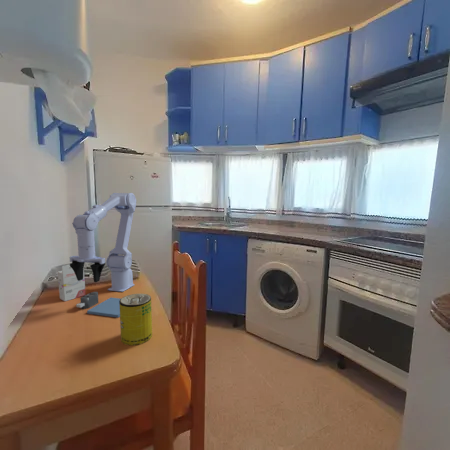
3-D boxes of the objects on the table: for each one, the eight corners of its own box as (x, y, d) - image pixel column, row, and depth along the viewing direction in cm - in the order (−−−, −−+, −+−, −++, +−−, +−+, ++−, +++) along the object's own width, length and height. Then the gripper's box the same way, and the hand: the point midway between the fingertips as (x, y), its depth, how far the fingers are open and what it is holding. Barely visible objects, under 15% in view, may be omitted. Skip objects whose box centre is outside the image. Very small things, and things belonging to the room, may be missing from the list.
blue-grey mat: (110, 299, 109) (110, 297, 109) (139, 303, 105) (138, 300, 105) (87, 313, 96) (87, 310, 96) (118, 317, 93) (118, 315, 93)
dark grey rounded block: (93, 300, 108) (93, 291, 107) (100, 301, 107) (99, 292, 106) (75, 310, 99) (74, 300, 98) (82, 311, 98) (81, 301, 97)
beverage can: (151, 327, 86) (149, 292, 85) (153, 342, 78) (152, 302, 76) (121, 332, 83) (119, 295, 82) (120, 347, 75) (118, 307, 73)
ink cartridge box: (80, 292, 116) (78, 260, 115) (85, 295, 113) (83, 261, 112) (59, 298, 110) (56, 264, 108) (64, 301, 107) (61, 266, 105)
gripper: (62, 247, 99) (64, 282, 100) (95, 249, 95) (97, 285, 97) (77, 243, 106) (79, 276, 107) (108, 245, 102) (109, 279, 104)
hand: (88, 280), depth 102 cm, fingers open, 7 cm apart
